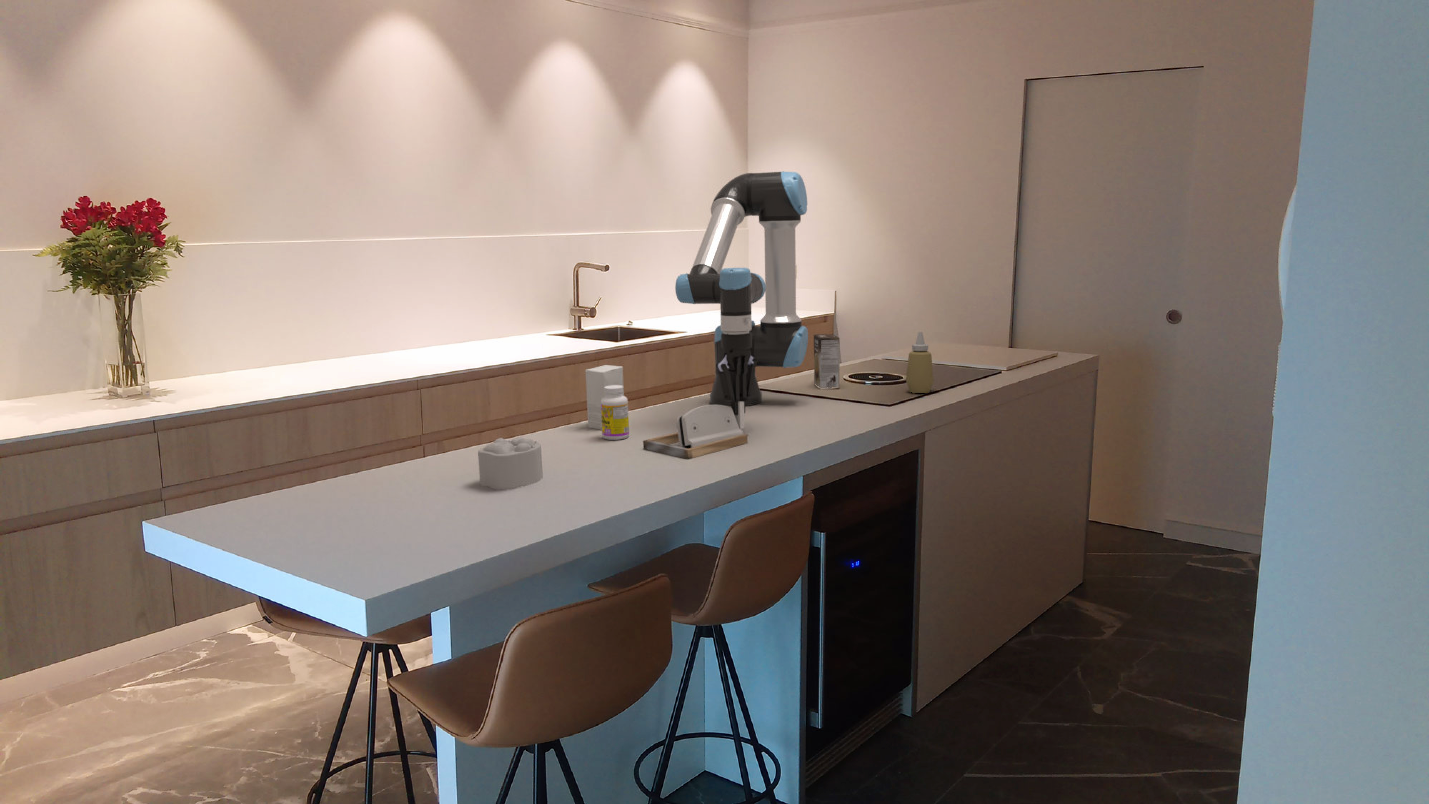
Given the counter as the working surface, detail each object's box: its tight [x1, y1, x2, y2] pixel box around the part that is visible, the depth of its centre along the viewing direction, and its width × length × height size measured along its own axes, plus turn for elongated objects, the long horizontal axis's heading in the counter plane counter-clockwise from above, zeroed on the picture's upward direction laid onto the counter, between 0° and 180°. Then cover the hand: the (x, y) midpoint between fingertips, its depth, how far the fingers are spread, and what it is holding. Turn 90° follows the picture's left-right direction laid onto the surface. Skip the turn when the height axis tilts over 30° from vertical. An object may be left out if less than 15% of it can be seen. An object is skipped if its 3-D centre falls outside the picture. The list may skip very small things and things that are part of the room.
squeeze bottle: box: [905, 332, 935, 394], centre depth 285 cm, size 8×8×18 cm
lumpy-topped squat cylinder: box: [477, 436, 544, 491], centre depth 200 cm, size 10×13×9 cm
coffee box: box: [813, 333, 841, 388], centre depth 298 cm, size 9×6×16 cm
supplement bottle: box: [601, 385, 630, 441], centre depth 236 cm, size 7×7×13 cm
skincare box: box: [585, 364, 625, 431], centre depth 249 cm, size 8×7×16 cm
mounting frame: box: [642, 431, 749, 460], centre depth 226 cm, size 15×20×2 cm
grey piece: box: [675, 404, 744, 448], centre depth 229 cm, size 17×5×10 cm, turn 130°
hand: (738, 427), depth 236 cm, fingers closed
